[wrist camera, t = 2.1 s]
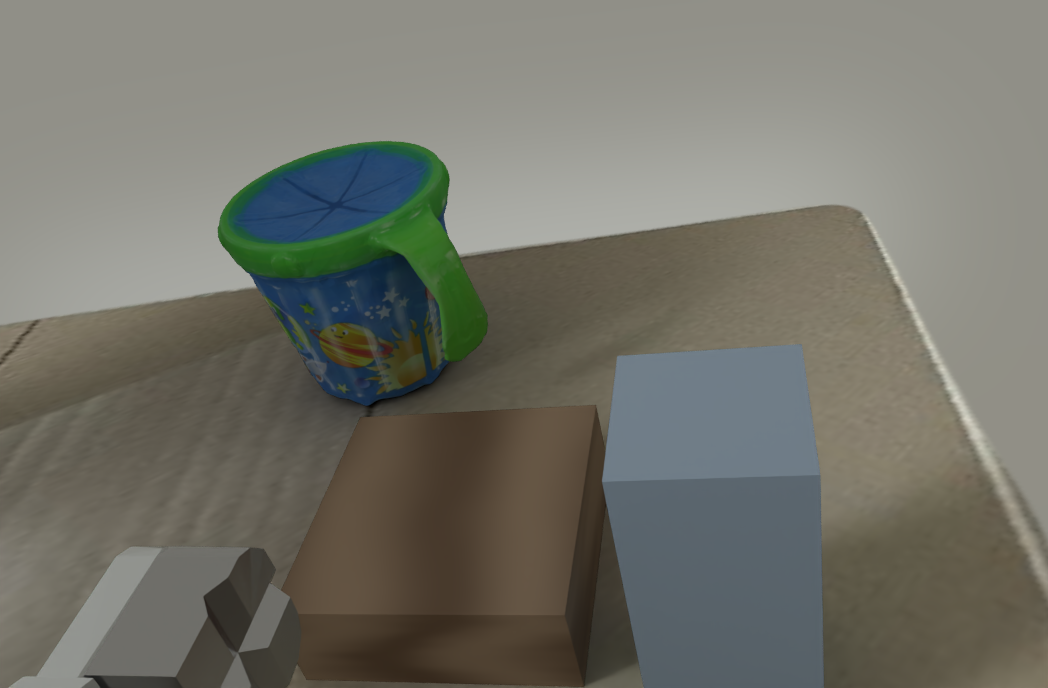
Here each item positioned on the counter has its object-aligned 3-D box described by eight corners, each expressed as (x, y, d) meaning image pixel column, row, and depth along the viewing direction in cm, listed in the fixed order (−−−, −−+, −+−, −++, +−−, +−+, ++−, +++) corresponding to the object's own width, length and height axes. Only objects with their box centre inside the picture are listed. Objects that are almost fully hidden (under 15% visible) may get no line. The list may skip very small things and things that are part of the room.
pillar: (654, 739, 28) (602, 481, 22) (660, 605, 32) (617, 356, 26) (824, 745, 27) (820, 475, 21) (809, 606, 31) (801, 344, 25)
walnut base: (309, 685, 33) (270, 613, 31) (387, 485, 41) (360, 417, 38) (585, 692, 30) (564, 615, 28) (610, 478, 38) (596, 404, 36)
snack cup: (563, 367, 45) (523, 177, 39) (385, 487, 40) (309, 293, 34) (395, 274, 56) (343, 115, 50) (239, 360, 51) (163, 197, 45)
